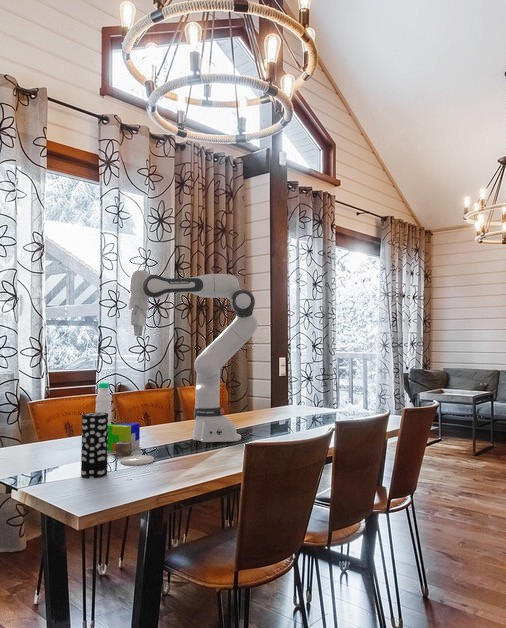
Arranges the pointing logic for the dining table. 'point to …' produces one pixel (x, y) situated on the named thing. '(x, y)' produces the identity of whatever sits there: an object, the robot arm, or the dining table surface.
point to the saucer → (137, 460)
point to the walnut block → (123, 448)
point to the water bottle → (104, 400)
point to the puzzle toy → (123, 434)
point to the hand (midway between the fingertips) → (138, 336)
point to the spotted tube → (94, 445)
